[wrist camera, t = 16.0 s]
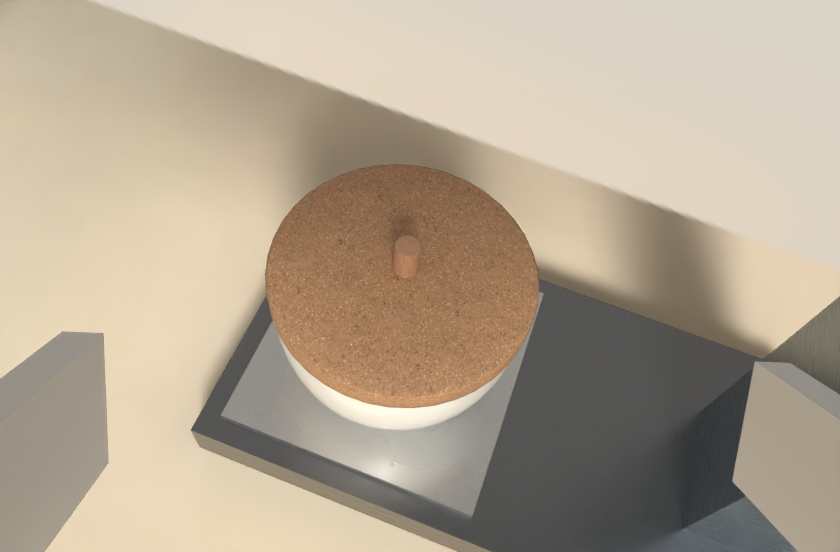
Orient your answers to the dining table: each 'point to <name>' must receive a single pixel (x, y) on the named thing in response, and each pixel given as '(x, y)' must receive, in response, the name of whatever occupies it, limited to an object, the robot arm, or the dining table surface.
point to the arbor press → (535, 438)
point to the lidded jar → (400, 294)
